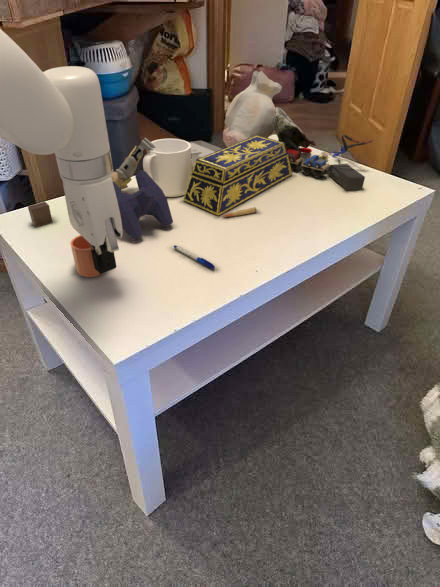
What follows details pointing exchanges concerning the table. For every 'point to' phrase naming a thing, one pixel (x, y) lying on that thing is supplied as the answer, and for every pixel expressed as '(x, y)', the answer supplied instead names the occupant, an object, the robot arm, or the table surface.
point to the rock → (289, 131)
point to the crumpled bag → (251, 111)
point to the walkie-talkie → (346, 176)
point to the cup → (83, 257)
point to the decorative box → (237, 173)
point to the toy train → (308, 163)
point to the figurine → (142, 205)
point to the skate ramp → (201, 150)
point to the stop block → (40, 214)
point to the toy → (130, 164)
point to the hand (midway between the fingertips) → (105, 268)
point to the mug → (169, 165)
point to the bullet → (241, 212)
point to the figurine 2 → (344, 150)
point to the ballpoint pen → (196, 257)
